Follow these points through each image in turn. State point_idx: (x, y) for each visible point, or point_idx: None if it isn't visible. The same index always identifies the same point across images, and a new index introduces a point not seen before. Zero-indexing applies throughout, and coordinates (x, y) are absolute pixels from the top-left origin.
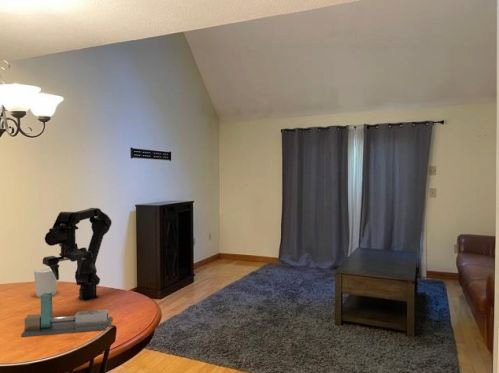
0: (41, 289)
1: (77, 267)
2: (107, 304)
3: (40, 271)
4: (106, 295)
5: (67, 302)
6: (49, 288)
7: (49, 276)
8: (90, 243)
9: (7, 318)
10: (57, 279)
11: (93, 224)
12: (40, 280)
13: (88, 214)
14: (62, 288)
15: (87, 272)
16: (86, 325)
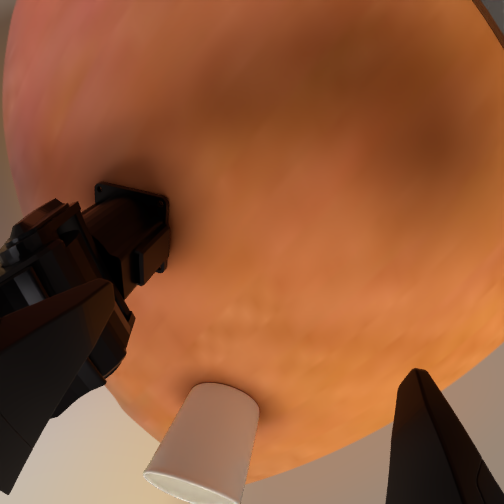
0: (248, 428)
1: (59, 395)
2: (141, 27)
3: (198, 491)
4: (68, 167)
5: (241, 269)
6: (222, 413)
7: (204, 462)
8: None
9: (496, 340)
10: (429, 379)
11: None
12: (241, 465)
13: None
14: (152, 390)
15: (24, 285)
16: None
